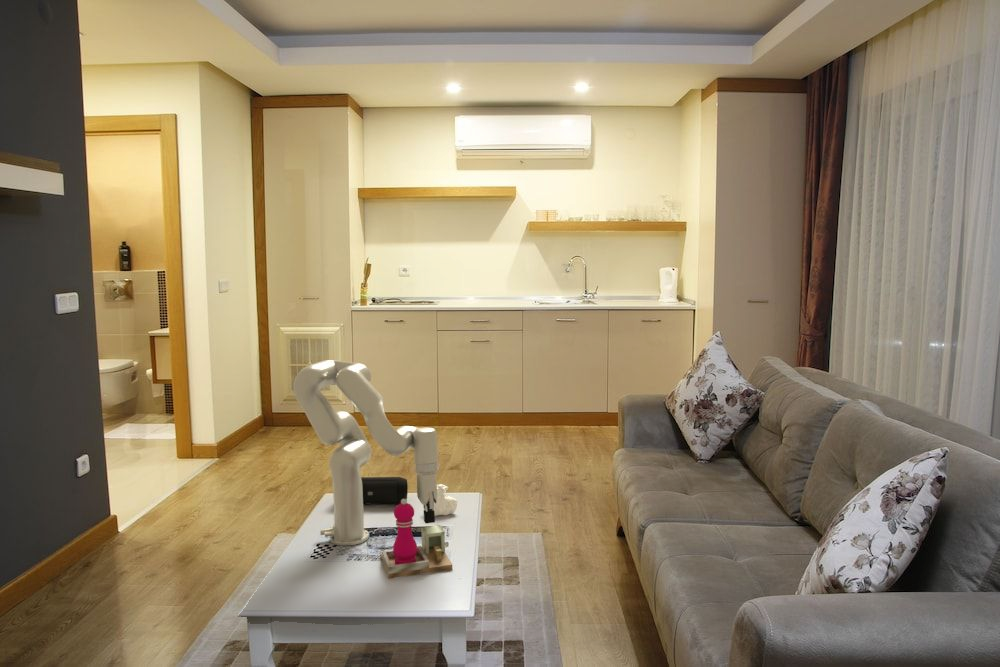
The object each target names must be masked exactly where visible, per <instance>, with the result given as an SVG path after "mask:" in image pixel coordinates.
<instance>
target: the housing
mask: <svg viewBox="0 0 1000 667" xmlns="http://www.w3.org/2000/svg"><path fill="white" fill-rule="evenodd" d="M445 535H446V534H445V531H444V528H443V527H442V526H441V525H440V524H438V525H431V526H430V525H429V526H428V525H427V526H422V527H421V547H422V548H423V550H424V552H425V554H429V547H431V546H439V547H440V549H441V550H442V552H445V553H446V544H445V543H446V542H445V541H446V539H445V538H446V537H445Z"/></svg>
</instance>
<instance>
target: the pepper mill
mask: <svg viewBox="0 0 1000 667" xmlns="http://www.w3.org/2000/svg"><path fill="white" fill-rule="evenodd" d="M393 516H394V518H395V519H396V520H395V525H396V527H397V535H396V538H395V541H394V543H393V546H392V550H393V553H394V555H395V556H396V558H395V565H398V564H405V563H412V562H416V557H415V556H414V555H415V554H416V553H417V546H418V545H417V542H416V540H415V538H414V536H413V533H412V527H413V524H414V522H413V521H414V519H413V517H414V516H415V508H414V507H413V505H412V504H411V503H408V499H407V500H406V499H402V500H401V503H400V504H396V505H395V507H394V509H393Z"/></svg>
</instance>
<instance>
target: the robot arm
mask: <svg viewBox="0 0 1000 667" xmlns="http://www.w3.org/2000/svg"><path fill="white" fill-rule="evenodd" d="M371 380H372V373H371V370H370V369H369V368H368V367H367V366H366V365H365V364H363V363H359V362H351V361H343V360H342V361H341V360H333V359H326V360H325V359H324V360H321V361H318V362H313V363H312V364H308V365H307V366H305V367H303V368H302V369H300V371H298V373H297V374H296V376H295V379H294V382H293V393H294V396H295V399H296V402H298V404H299V406H300V407H301V409H302V410H303V413H305V416H306V418H307V419H308V421H309V423H310V425H311V426H312V428H313V430H314V432H315V434H316V435H317V437H318V439H319V441H320V442H321V443H322V444H324V445H325V446H334V445H337V444H339V446H338V447H337V448H336V449H334V451H333V452H332V454H331V455H330V458H329V470H330V475H331V480H332V482H331V483H332V494H333V518H334V519H333V520H334V522H333V524H332V526H330V527H329V528H319V530H320V531H319V532H320V536H324V537H325V538H326V537H330V538H329V541H330V542H331V543H333V544H334V545H337V546H344V547H345V546H354V545H359V544H362V543H364V542H366V541H367V540H368V539H369V538H368V537H370V533H369V531H368V530H366V529H365V525H364V524H365V521H364V519H365V518H364V517H365V516H364V515H365V514H364V504H363V487H362V479H361V477H362V476H361V472H360V469H361V468H362V467H364V466H365V465H366V464H367V463H368V462H369V461H370V460H371V456H372V447H371V445H370V443H369V441H368V439H367V437H366V436H365V433H364V432H363V430H362V427H360V425H359V423H358V421H357V420H356V418H355V417H354V416H353V415H352V414H351V413H349V412H347V411H345V410H338V411H336V410H335V409H334V408H333V406H332V404H331V402H330V401H329V399H328V398H327V397H326V396H325V395H324V394H323V393H322V391H321V389H323V388H326V387H328V386H337V388H338V389H339V390H340V391H341V392H342V393H343V395H344V396H345V397H346V398H347V399H348V400H349V401H350V402H351V404H352V405H353V406H354V407H355V408H356V410H358V412H360V414H361V415H362V416H363V418H364V422H365V424H366V426H367V429H368V431H369V433H370V435H371V436H372V438H373V439H374V440H375V442H376V443H377V444H378V445H379V446H380V447H381V448H382V449H383V450H384V451H385V452H386V453H387V454H388V455H390V456H394V457H398V456H399V457H400V456H402V455H404V453H406V452H408V451H409V450H412V449H413V455H414V473H415V474H416V487H417V488H416V496H417V499H418V500H419V502H420V504H421V505H423V522H424V523H425V524H430V523H431V524H432V523H435V522H436V519H435V518H436V516H435V514H434V502H435V503H437V499H438V498H437V485H438V483H437V473H438V472H439V470H440V469H439V448H438V433H437V430H436V429H435V428H433V427H431V426H430V427H427V426H426V427H424V426H423V427H417V426H412V425H411V426H410V425H402V426H400V427H398V428H397V429H396V428H395V427H394V426H393V424H392V423H391V422H390V420H389V419H388V417H387V416H386V413H385V398H384V397H383V396H382V394H381V393H379V391H378V390H377V389H376V388H375V387H374V386H373V384H372V383H371Z"/></svg>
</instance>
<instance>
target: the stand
mask: <svg viewBox="0 0 1000 667" xmlns="http://www.w3.org/2000/svg"><path fill="white" fill-rule="evenodd" d="M379 553H380V559H381V562H382V565H383V568H384V570H385V572H386V575H387V577H388V580H389V579H391V580H392V579H397V578H404V577H410V576H411V577H412V576H417V575H423V574H424V575H425V574H430V573H435V572H436V573H437V572H444V571H450V570H451V571H452V570H453V563H452V561H451V560H450V558H449V556H448V555H447V552H446V551H445V552H442V550H441V549H440V547H439V546H431V547H429V554H425V552H424V550H423V548H422V545H417V553H416V554H415V555H414V556H415V557H416V562H412V563H405V564H398V565H395V558H396V556H395V555H394V553H393V549H388V550H382V551H381V552H379Z"/></svg>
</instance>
